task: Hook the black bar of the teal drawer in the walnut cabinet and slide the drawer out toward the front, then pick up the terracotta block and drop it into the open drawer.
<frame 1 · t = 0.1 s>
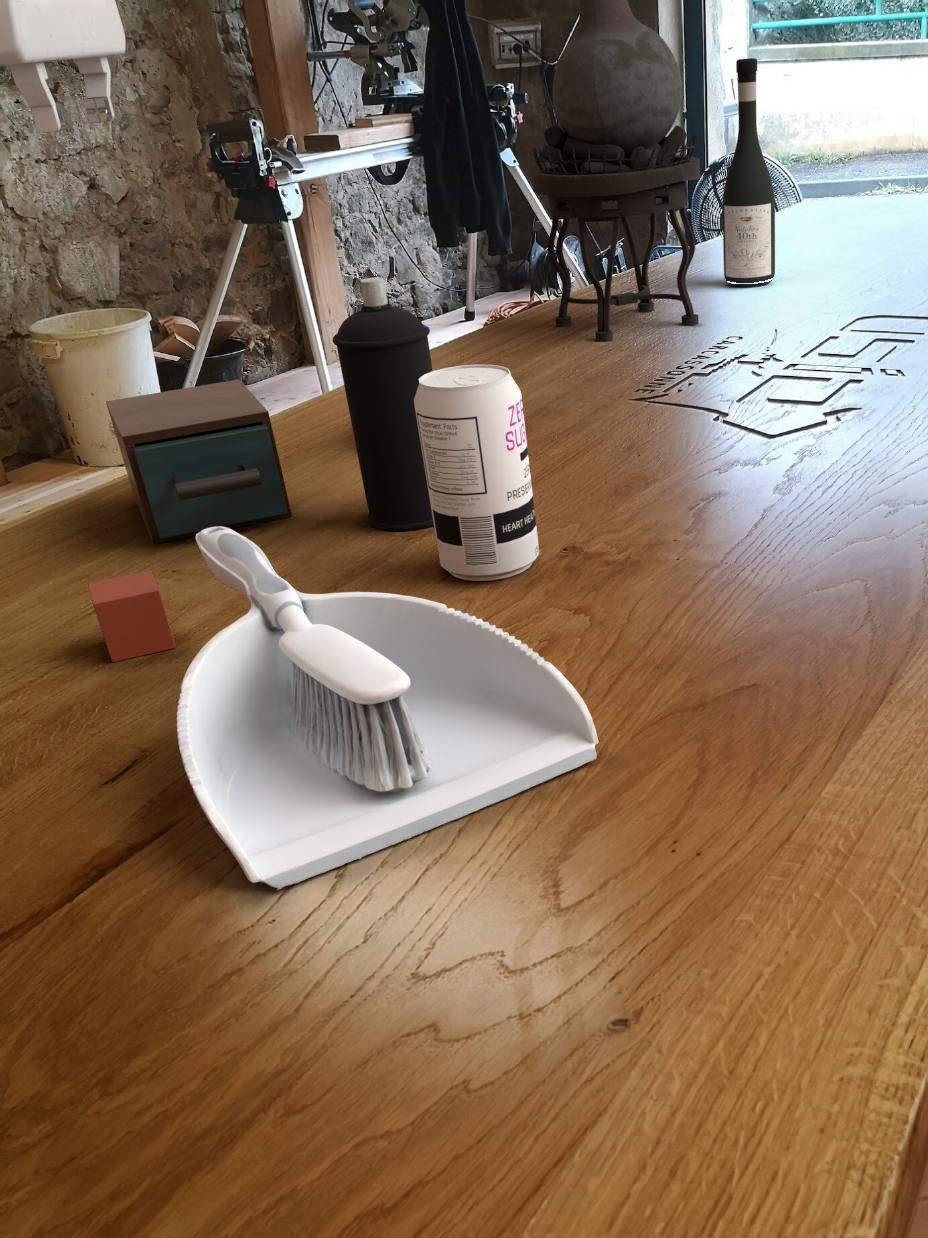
hand: (78, 126, 102), 32 cm above the table, tool pointing down, fingers open, 8 cm apart
dustpan and brush: (328, 723, 81), on the table
cabinet: (211, 508, 120), on the table
aerosol can: (412, 517, 114), on the table
block: (141, 644, 94), on the table
supplement can: (491, 567, 103), on the table
brazier: (626, 325, 177), on the table
drawer: (206, 470, 113), point 5 cm above the table, slide at 0.5 cm
wine bottle: (749, 284, 197), on the table
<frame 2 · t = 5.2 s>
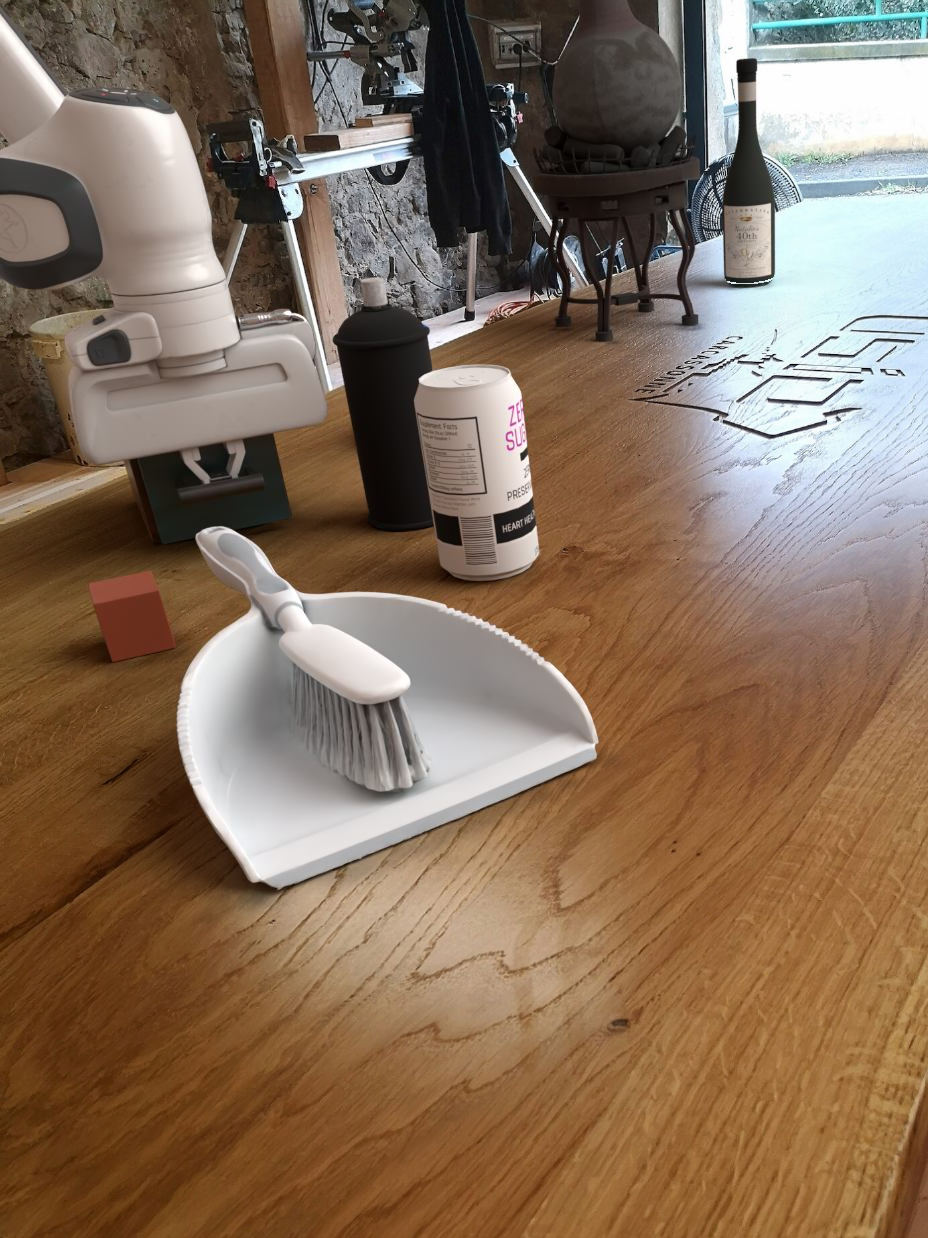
hand: (223, 495, 107), 5 cm above the table, tool pointing down, fingers closed, pressing on drawer
drawer: (208, 475, 112), point 5 cm above the table, slide at 2.2 cm, touching gripper
everything else where it was.
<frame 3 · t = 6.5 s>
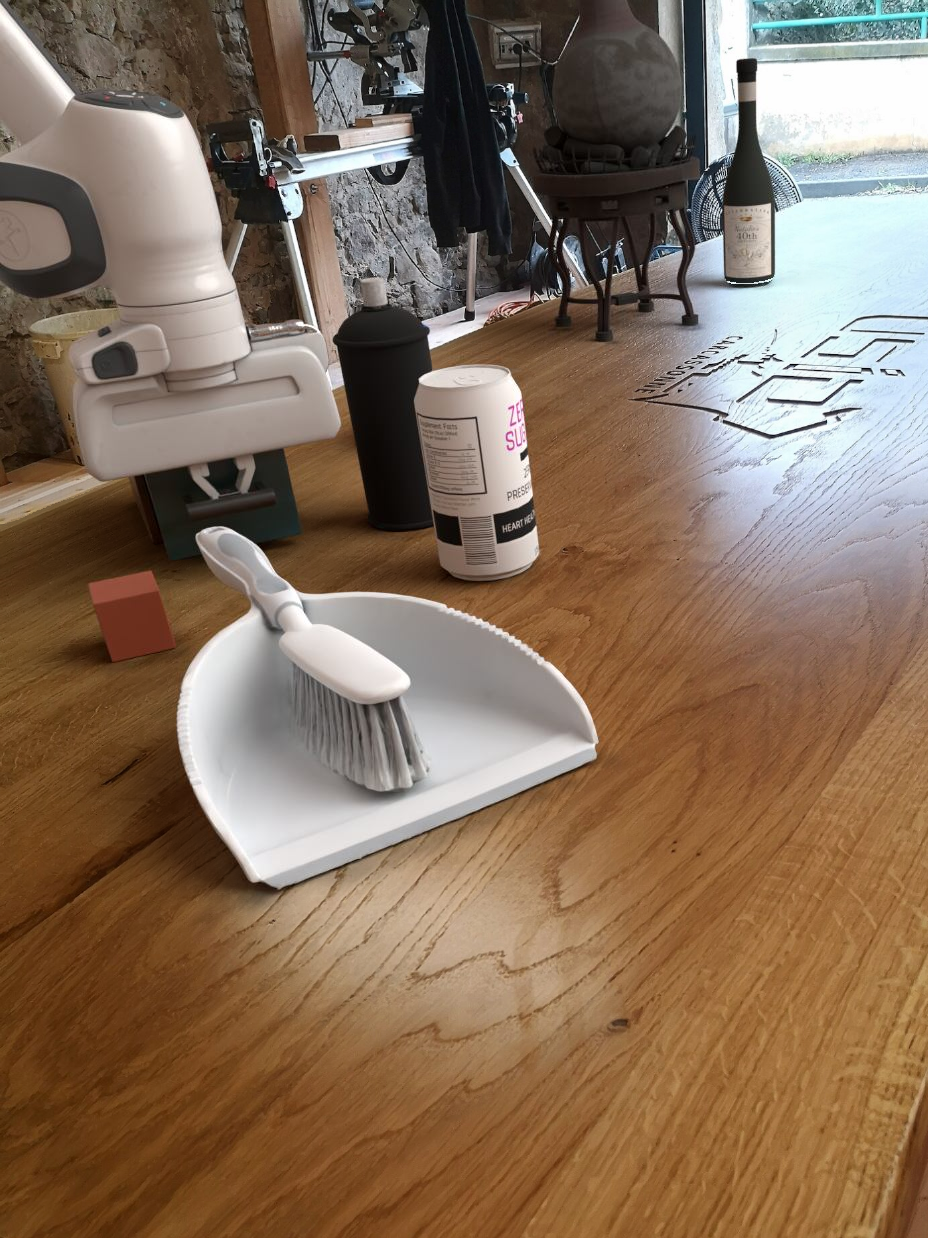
hand: (233, 511, 103), 5 cm above the table, tool pointing down, fingers closed, pressing on drawer
drawer: (217, 489, 109), point 5 cm above the table, slide at 7.0 cm, touching gripper
everything else where it was.
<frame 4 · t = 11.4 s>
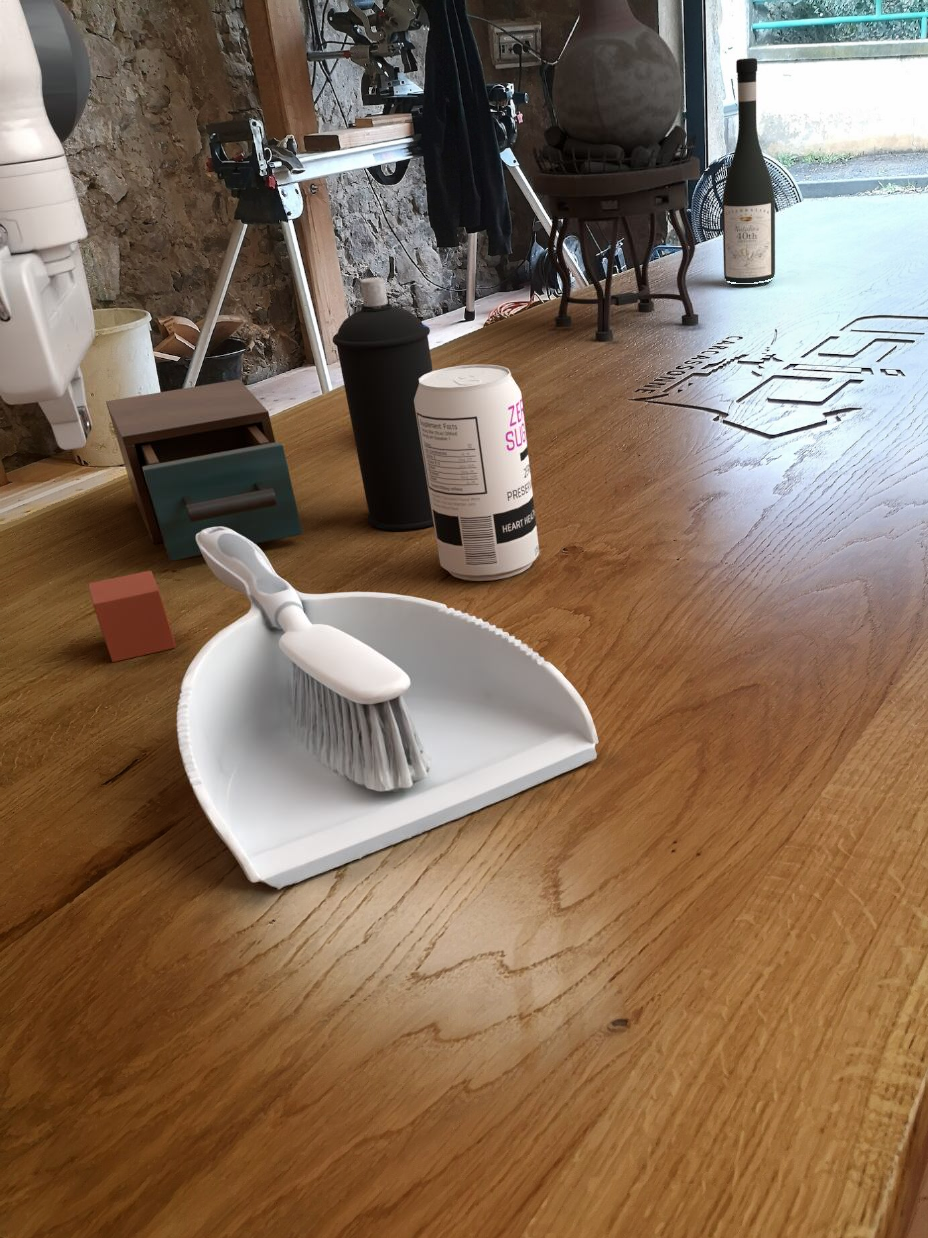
hand: (77, 440, 85), 15 cm above the table, tool pointing down, fingers closed
drawer: (217, 489, 109), point 5 cm above the table, slide at 7.0 cm
everything else where it was.
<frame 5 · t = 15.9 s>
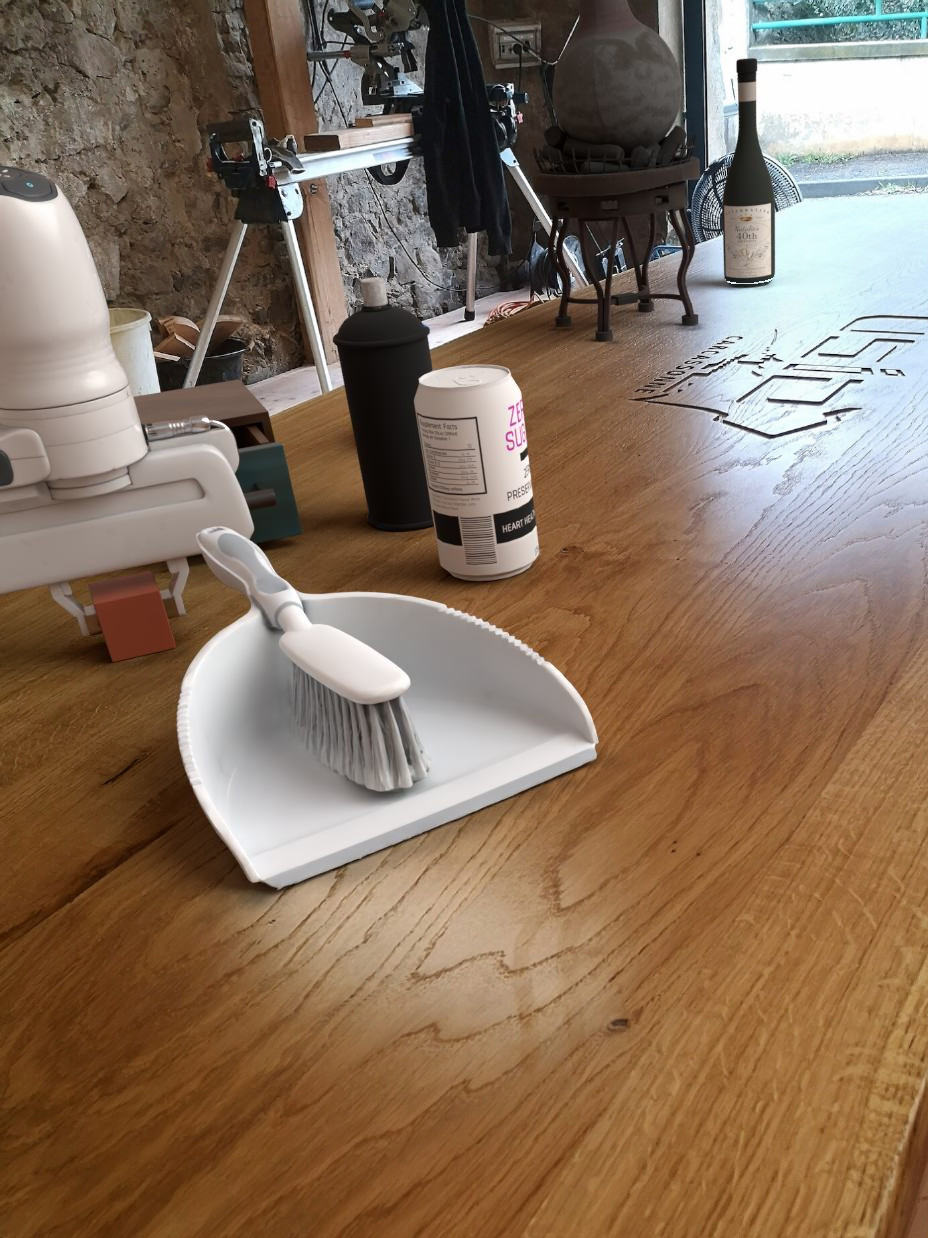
hand: (134, 624, 93), 2 cm above the table, tool pointing down, fingers closed on block, 4 cm apart
block: (141, 644, 94), on the table, touching gripper
everything else where it was.
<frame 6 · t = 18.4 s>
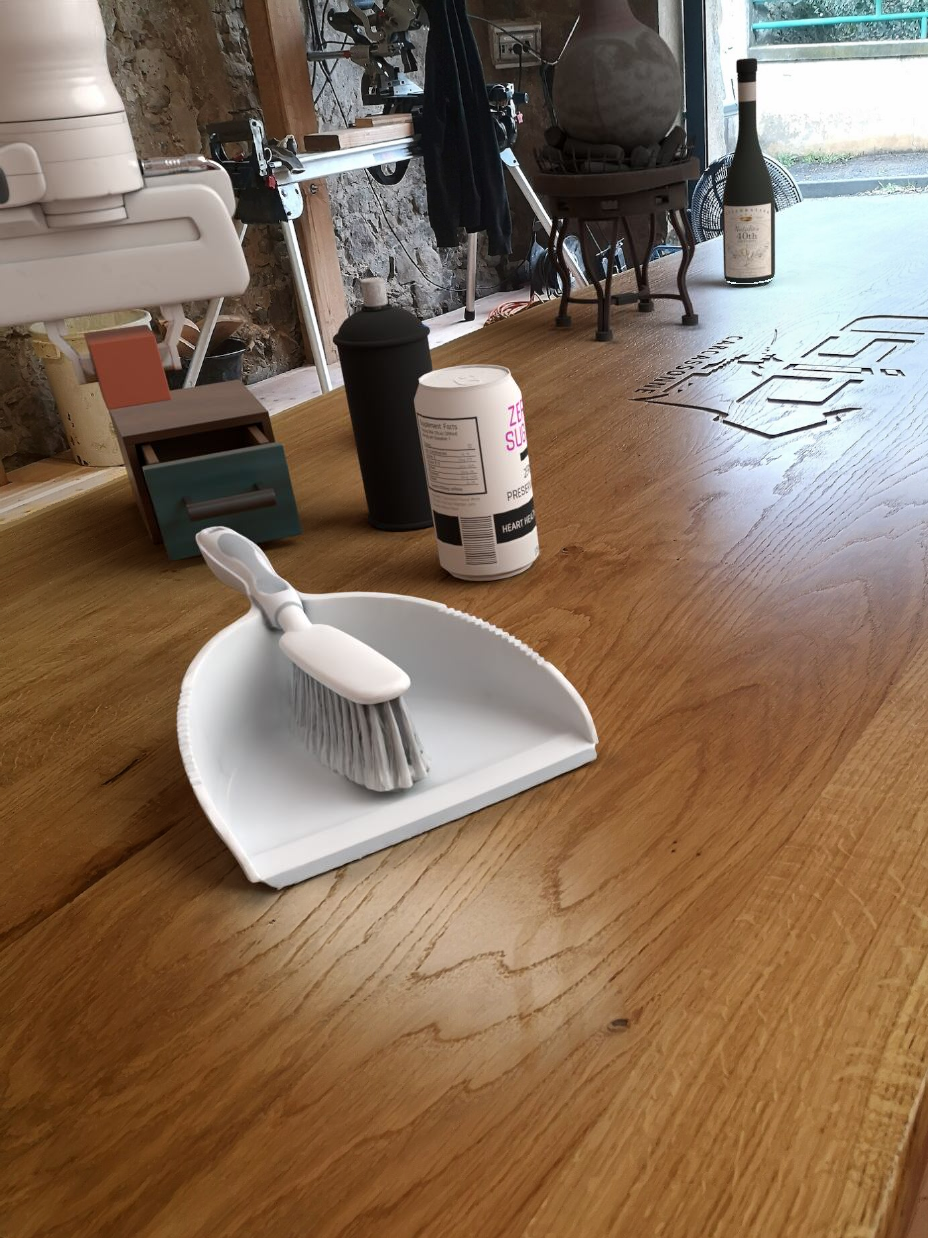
hand: (130, 375, 93), 17 cm above the table, tool pointing down, fingers closed on block, 4 cm apart
block: (136, 398, 94), point 15 cm above the table, touching gripper
everything else where it was.
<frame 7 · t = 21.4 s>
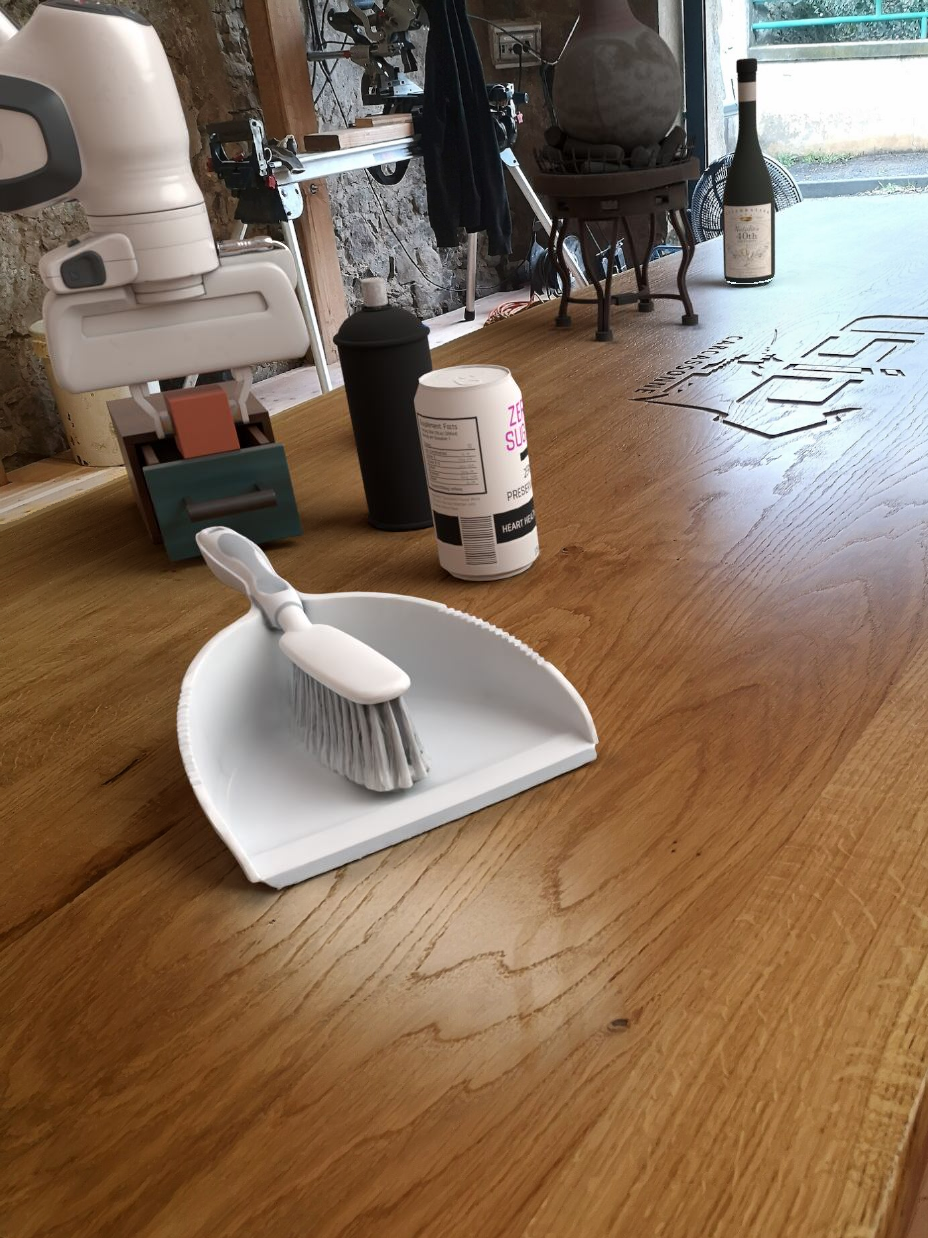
hand: (203, 429, 105), 10 cm above the table, tool pointing down, fingers closed on block, 5 cm apart
block: (208, 448, 105), point 9 cm above the table, touching drawer, gripper
drawer: (218, 490, 108), point 5 cm above the table, slide at 7.2 cm, touching block
everything else where it was.
when the fingers open (10 cm above the table, at t = 21.4 s): block drops 4 cm and tips over, resting on drawer.
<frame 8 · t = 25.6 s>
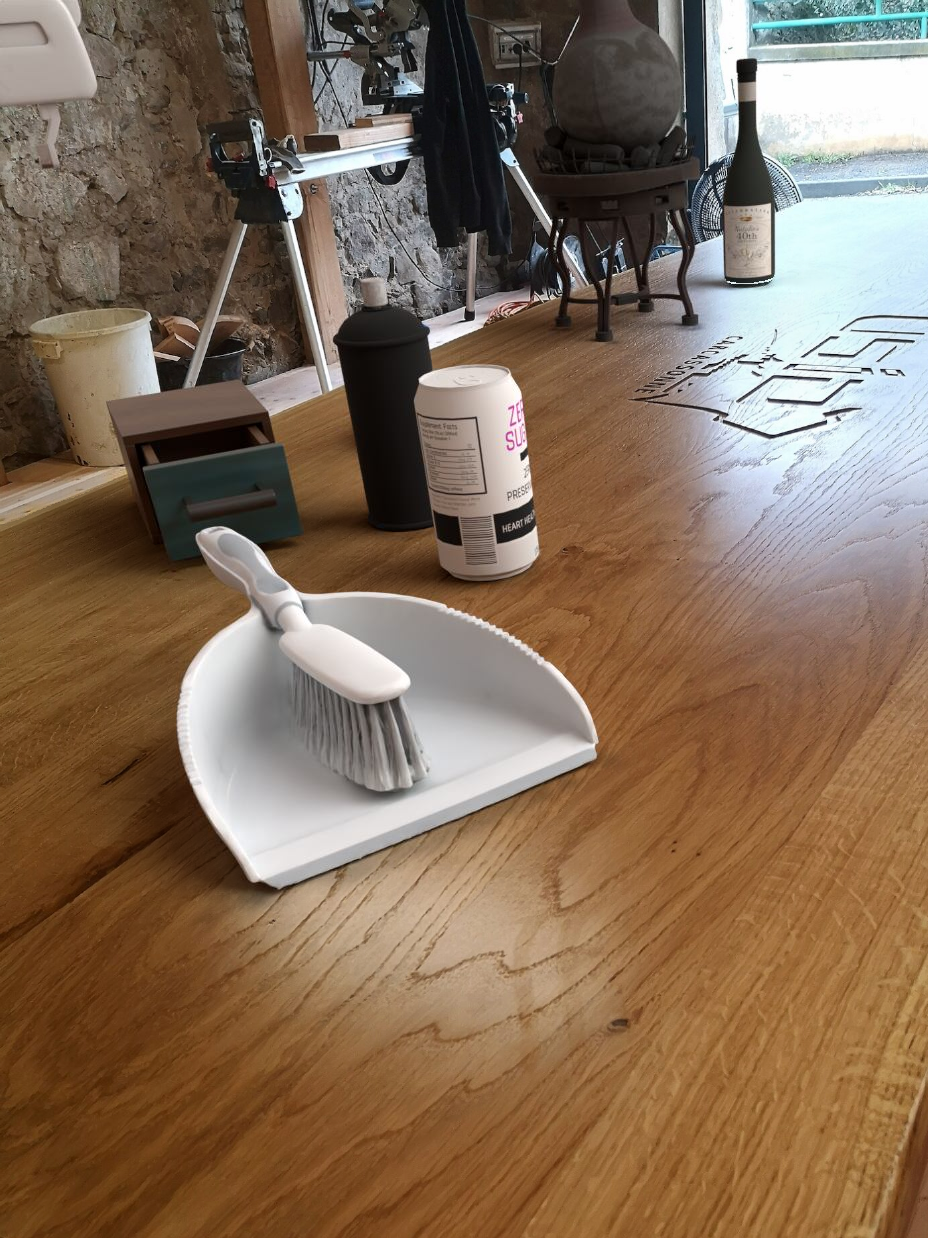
block: (222, 499, 108), point 4 cm above the table, tilted 90°, touching drawer
everything else where it was.
at the end: drawer slide at 7.2 cm; block inside the target area in the drawer (0.7 cm from its centre), point 4.3 cm above the cabinet's base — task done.
